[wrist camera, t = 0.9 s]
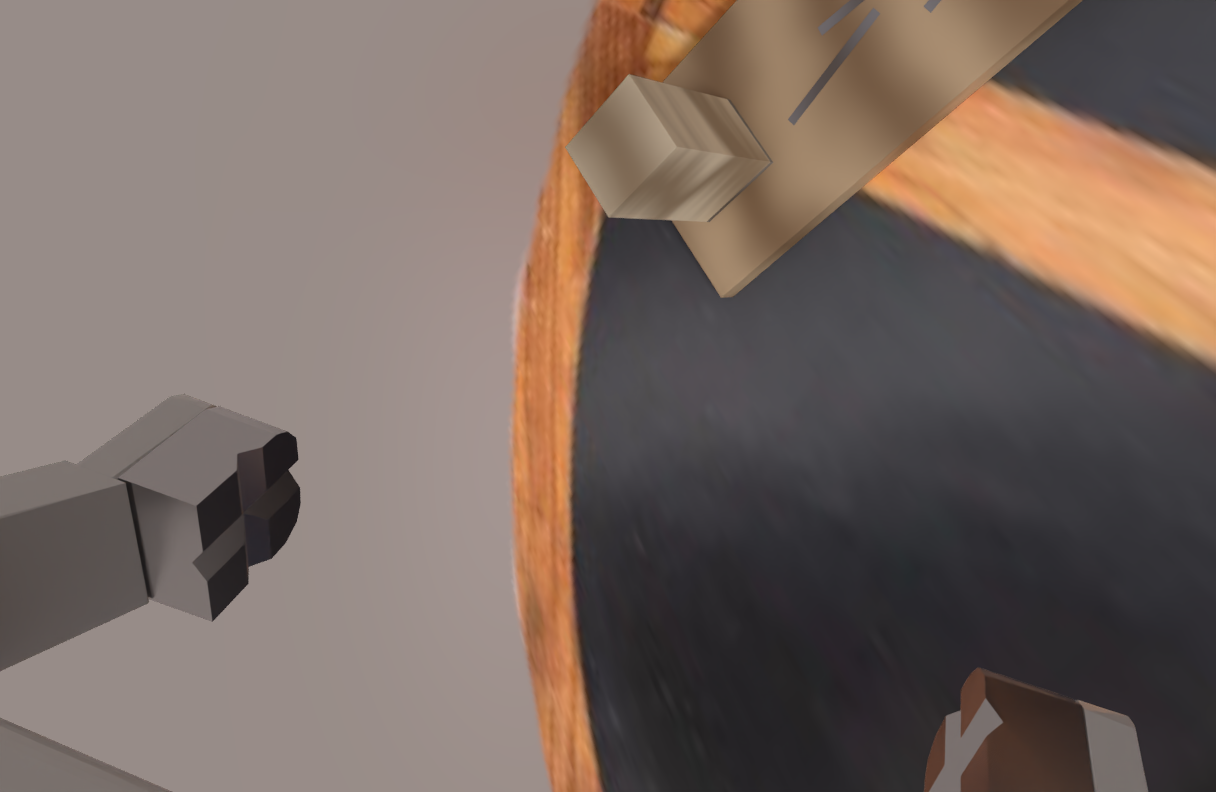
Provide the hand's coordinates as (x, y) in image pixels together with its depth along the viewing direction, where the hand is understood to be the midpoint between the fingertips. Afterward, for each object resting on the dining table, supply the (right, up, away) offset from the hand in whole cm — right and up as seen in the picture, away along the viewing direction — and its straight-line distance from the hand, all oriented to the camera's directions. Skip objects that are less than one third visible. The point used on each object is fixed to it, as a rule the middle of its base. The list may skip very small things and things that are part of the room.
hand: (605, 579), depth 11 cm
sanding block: (+6, +14, +36) cm, 39 cm away
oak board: (+12, +19, +32) cm, 39 cm away
